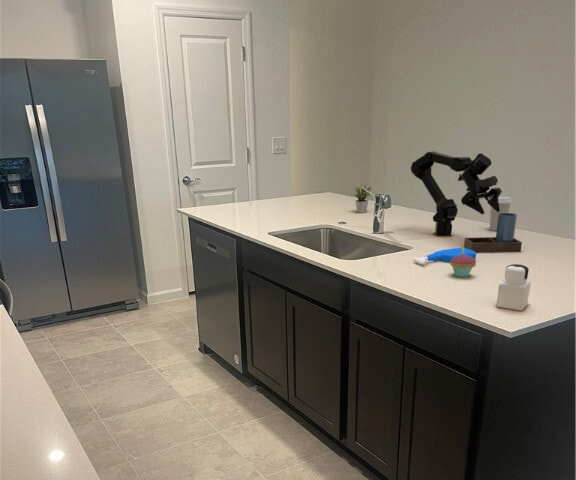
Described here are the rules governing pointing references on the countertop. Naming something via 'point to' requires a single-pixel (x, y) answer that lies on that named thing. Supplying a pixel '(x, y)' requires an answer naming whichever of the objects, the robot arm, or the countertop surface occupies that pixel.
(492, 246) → the wooden divided tray
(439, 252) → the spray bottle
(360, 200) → the house plant
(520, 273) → the medicine bottle
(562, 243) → the countertop surface
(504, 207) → the coffee cup
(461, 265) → the cupcake
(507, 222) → the tumbler
